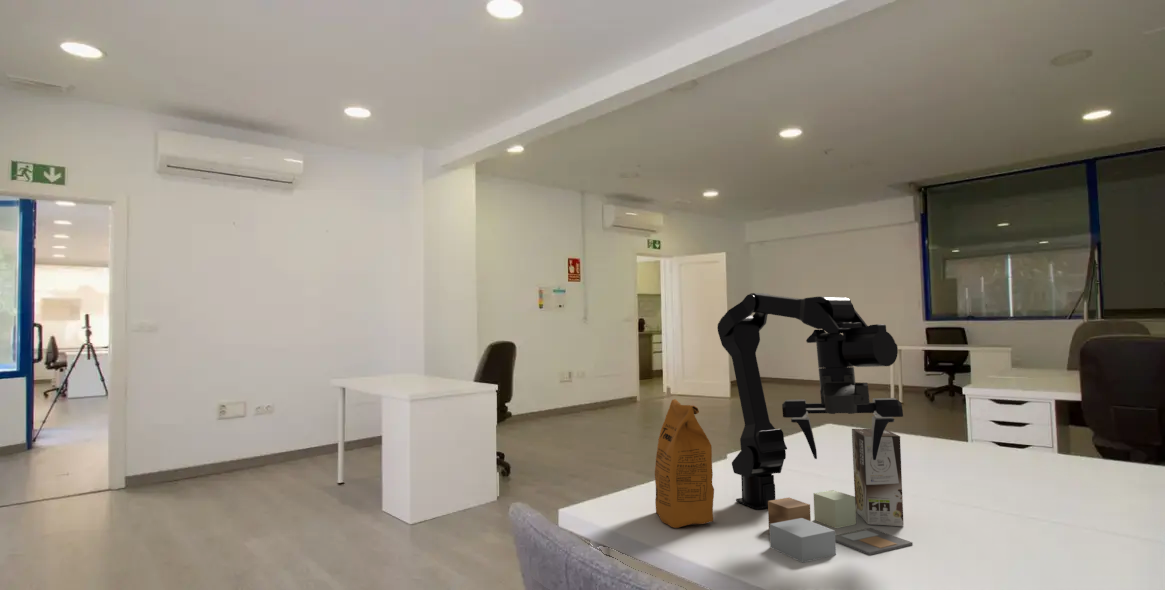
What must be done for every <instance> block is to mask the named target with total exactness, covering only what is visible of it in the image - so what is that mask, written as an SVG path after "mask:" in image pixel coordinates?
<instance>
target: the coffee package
mask: <svg viewBox="0 0 1165 590" xmlns="http://www.w3.org/2000/svg"><path fill="white" fill-rule="evenodd" d="M699 413H700V410H699V408H698V407H697V406H695V405H691V404H690V405H689V404H681V403H680V402H679V401H678V400H677V399H676V398H675V399H672V400H671V402H670V404H669V407H668V410H667V413H666V414H665V419H664V421H663V423H662V426H661V429H660V432H659V437H658V442H657V449H656V454H655V466H654V482H655V513H656V514H657V515H658V517H659V518H660V519H659V520H661V522H662V523H663V524H666V525H668V526H670V527H671V528H675V529H679V528H681V527H685V526H690V525H704V524H707V523H712V522H713V521H714V497H715V488H714V485H713V475H714V473H713V459H712V458H713V454H712V453H713V452H712V451H713V449H712V448H713V447H712V444H711V442H710V439H709V438H708V436H707V434H706V433H705V431H704V429H703V428H702V426H701V425H700V423H699V422H698V421H699V420H698V419H697V417H696V415H698V414H699Z"/></svg>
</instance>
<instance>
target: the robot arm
mask: <svg viewBox="0 0 1165 590" xmlns="http://www.w3.org/2000/svg"><path fill="white" fill-rule="evenodd" d="M851 300H852V299H850V298H848V297H845V296H811V297H804V298H799V297H789V296H782V295H774V294H773V295H772V294H769V293H764V292H761V293H759V292H758V293H757V292H751V293H749V294H746V296H745V297H744V298H743V300H742V301H741V302H739V303H738V304H737V303H736V305H734V306H733V307H731V308H730V309H728V310H727V311H726V312H725V313H724V315H723V316H722V317H721V318H720V320H718V323H717V333H718V336H719V340H720V342H721V346H722V348H724V350H725V351H726V352H727V354H728V355H729V356H730V357H731V360H732V365H733V371H734V376H735V380H736V385H737V390H738V391H737V392H738V396H739V400H740V405H741V406H740V407H741V412H742V417H743V421H744V427H743V430H742V433H741V436H740V440H739V444H740V451H739V453H738V454H737V455H736V456H735V458H734V459H733V460H732V461H731V466H732V471H733V474H736V475H739V476H741V477H740V478H741V497H739V498H736V499H735V501H736V503H740V504H742V505H744V506H746V507H749V508H752V509H755V510H761V509H768V501H771V500H776V484H775V475H774V474H781V473H782V470H783V465H784V461H785V460H786V456H787V452H786V450H788V447H787V445H786V443H785V437H784V431H783V430H782V429H781V428H777V429H776V428H775V426H774V425H773V424H772V423H771V422H770V418H769V412H768V407H767V402H766V398H765V397H766V396H765V393H764V388H763V384H762V377H761V374H760V368H759V364H758V360H757V354H756V353H757V350H758V347H759V344H760V342H761V334H760V331H761V330H762V329H763V328H764V327H765V325H766V324H767V321H768V315H773V316H777V317H779V316H780V317H785V318H790V319H791V318H792V319H796V320H799V321H800V322H802V323H803V324H804V325H807V326H809V327H812V328H814V330H813V332H812V333H811V334H810V335H809V336H808V337H807V339H806V340H805V342H806V343H807V344H808V343H809V344H816V356H817V368H818V377H819V389H820V390H819V392H820V402H810V403H809V402H807V400H806V399H804V398H803V399H785V401H784V402H783V403H782V404H781V408H782V418H789V419H790V418H791V419H790V420H791V421H790V422H791V423H795V424H798V426H799V427H800V429H801V431H802V432H803V434H804V437H805V439H806V441H807V443H808V447H809V448H810V450H811V454H812V456H813V458H814V460H817V459H818V455H817V454H818V453H817V447H816V441H815V436H814V433H813V428H812V424H811V419H810V416H809V414H829V415H835V414H850V415H852V414H853V415H854V414H873V415H874V416H873V415H872V416H871V429H872V457H873V460H876V457H877V453H878V449H879V445H880V441H881V437H882V434H883V432H884V429H886V427H887V425H888V423H889V424H890V423H895V418H901V417H902V418H903V417H904V413H903V412H904V411H903V405H902V402H901V401H900V400H898V399H897V398H895V397H879V398H878V397H877V398H874V397H873V398H872V402H870V392H869V385H868V382H856V375H855V374H856V373H855V367H857V368H866V367H867V368H869V367H871V368H872V367H873V368H874V367H875V368H876V367H877V368H878V367H890V366H892V365H893V364H894V363H895V362H896V360H897V358H898V354H899V349H898V348H899V347H898V344H897V343H896V341H895V339H894V336H892V334H891V333H889V332H888V331H887V325H886V324H884V323H883V324H878V323H877V324H870V325H868V324H867V323H866V322H865V321H864V319H863V318H862V317H861V315H860V314H859V313H858V311H856V309H855V306H854V304H853V303H852V301H851ZM752 314H753V315H752Z"/></svg>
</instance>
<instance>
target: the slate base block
mask: <svg viewBox="0 0 1165 590" xmlns="http://www.w3.org/2000/svg"><path fill="white" fill-rule="evenodd" d="M835 535H836V530H835V529H832V528H830V527H829V528H828V527H827V526H824V525H823V524H822V525H821V524H819V523H816V522H813V521H812V520H811V521H809V520H806V519H803V518H799V519H793V520H788V521H783V522H777V523H772V524H770V529H769V543H770V544H769V546H770V547H769V548H771V549H773V550H776V551H778V552H780V553H782V554H783V555H786V556H787V557H790V558H792V559H794V560H797V561H798V562H800V563H807V562H811V561H816V560H819V559H824V558H828V557H832V556H836V555H837V549H836V548H837V547H836V545H837V544H836V543H837V542H835Z"/></svg>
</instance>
